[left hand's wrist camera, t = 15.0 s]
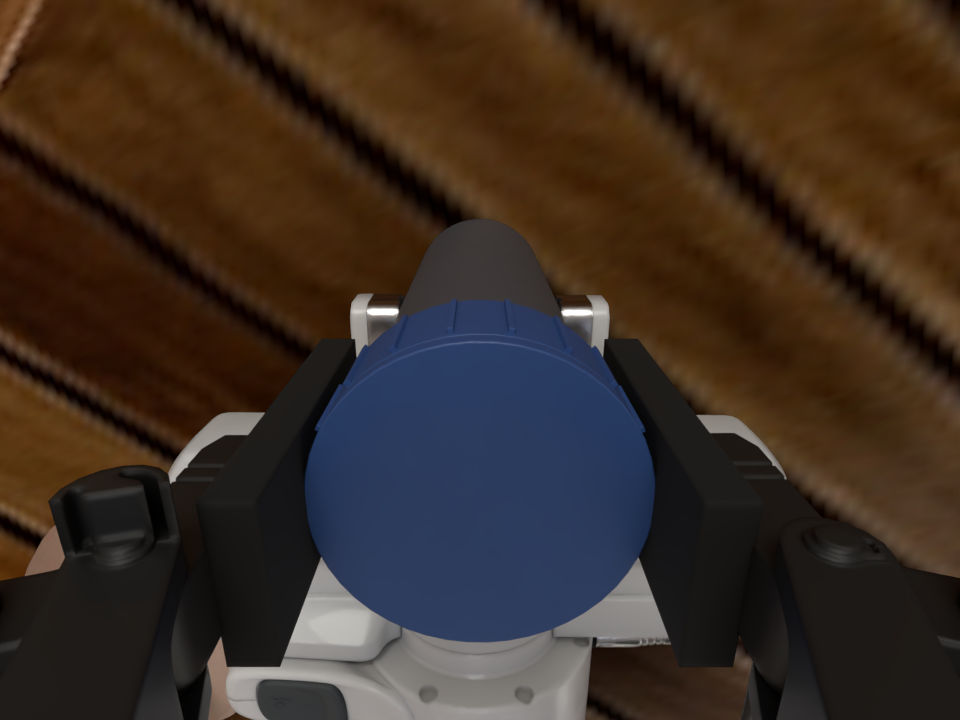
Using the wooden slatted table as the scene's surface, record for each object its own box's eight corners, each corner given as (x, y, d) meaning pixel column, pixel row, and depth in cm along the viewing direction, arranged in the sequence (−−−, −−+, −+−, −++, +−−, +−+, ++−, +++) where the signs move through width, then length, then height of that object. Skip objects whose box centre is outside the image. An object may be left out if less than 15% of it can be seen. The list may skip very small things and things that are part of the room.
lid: (440, 599, 13) (432, 693, 11) (271, 398, 12) (221, 460, 10) (676, 476, 12) (720, 552, 10) (528, 233, 11) (541, 260, 8)
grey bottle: (462, 356, 26) (440, 649, 11) (396, 262, 25) (271, 454, 10) (561, 296, 26) (678, 529, 10) (498, 194, 24) (529, 294, 9)
